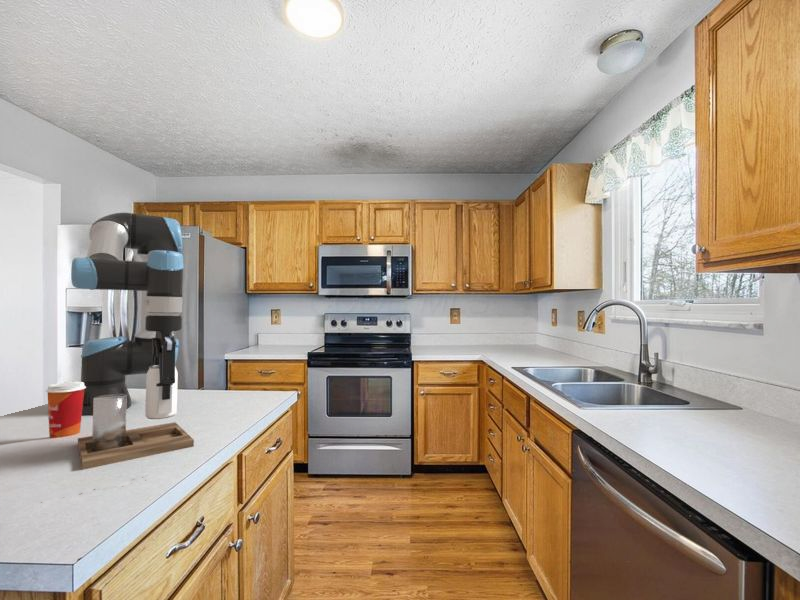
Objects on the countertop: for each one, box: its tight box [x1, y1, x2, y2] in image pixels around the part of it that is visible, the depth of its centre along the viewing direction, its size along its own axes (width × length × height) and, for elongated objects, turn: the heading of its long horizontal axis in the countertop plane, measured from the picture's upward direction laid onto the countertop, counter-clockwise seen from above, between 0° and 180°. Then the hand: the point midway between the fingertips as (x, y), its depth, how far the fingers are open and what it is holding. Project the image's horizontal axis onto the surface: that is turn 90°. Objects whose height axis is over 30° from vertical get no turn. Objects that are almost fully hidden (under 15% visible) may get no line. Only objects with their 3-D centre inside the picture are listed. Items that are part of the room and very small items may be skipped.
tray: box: [77, 421, 195, 470], centre depth 89 cm, size 18×20×3 cm
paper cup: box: [45, 381, 86, 439], centre depth 97 cm, size 8×8×14 cm
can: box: [144, 364, 179, 420], centre depth 93 cm, size 6×6×12 cm
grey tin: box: [91, 394, 128, 452], centre depth 86 cm, size 6×6×12 cm
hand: (161, 409), depth 93 cm, fingers closed on can, 6 cm apart
